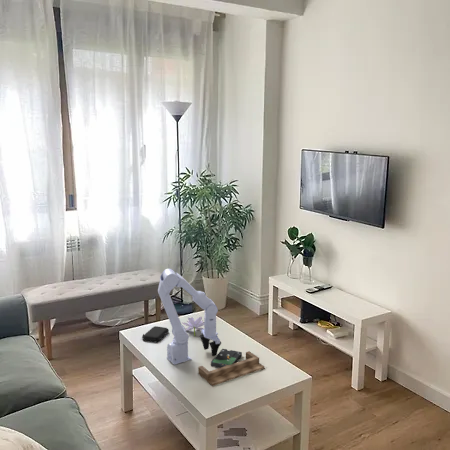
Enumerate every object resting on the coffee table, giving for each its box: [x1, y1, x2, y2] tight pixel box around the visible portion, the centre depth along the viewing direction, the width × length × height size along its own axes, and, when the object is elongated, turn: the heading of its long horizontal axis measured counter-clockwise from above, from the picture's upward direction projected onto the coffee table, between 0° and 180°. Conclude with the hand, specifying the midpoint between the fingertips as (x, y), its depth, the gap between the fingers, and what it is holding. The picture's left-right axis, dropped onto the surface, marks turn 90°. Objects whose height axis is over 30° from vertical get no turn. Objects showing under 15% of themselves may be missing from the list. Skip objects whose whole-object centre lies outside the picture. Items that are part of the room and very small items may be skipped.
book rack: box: [197, 350, 265, 387], centre depth 211 cm, size 28×12×4 cm, turn 123°
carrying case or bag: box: [141, 325, 170, 343], centre depth 247 cm, size 11×3×15 cm
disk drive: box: [210, 348, 243, 369], centre depth 220 cm, size 10×3×15 cm
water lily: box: [181, 316, 204, 337], centre depth 249 cm, size 15×15×9 cm
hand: (210, 352), depth 226 cm, fingers open, 7 cm apart
